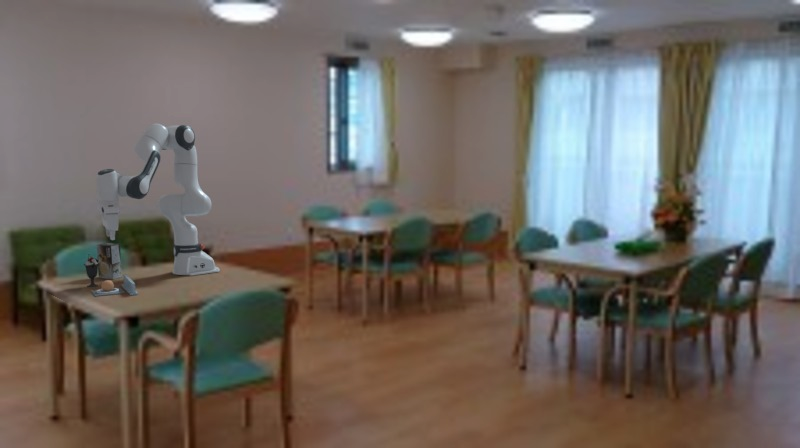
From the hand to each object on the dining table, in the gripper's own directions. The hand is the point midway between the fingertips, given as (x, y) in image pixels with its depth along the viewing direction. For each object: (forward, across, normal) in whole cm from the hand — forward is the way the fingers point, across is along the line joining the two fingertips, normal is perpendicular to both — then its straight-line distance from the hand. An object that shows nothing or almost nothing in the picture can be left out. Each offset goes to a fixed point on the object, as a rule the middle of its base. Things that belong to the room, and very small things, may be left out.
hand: (110, 238), depth 333 cm
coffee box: (+24, -28, +3) cm, 37 cm away
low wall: (+23, +6, +5) cm, 24 cm away
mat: (+23, +6, -4) cm, 24 cm away
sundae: (+23, -11, -8) cm, 27 cm away
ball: (+20, +6, -4) cm, 21 cm away
